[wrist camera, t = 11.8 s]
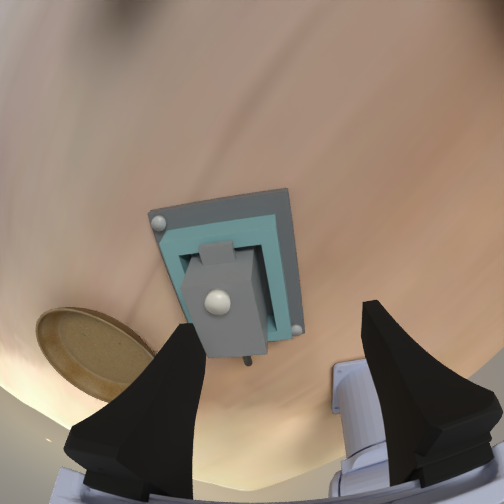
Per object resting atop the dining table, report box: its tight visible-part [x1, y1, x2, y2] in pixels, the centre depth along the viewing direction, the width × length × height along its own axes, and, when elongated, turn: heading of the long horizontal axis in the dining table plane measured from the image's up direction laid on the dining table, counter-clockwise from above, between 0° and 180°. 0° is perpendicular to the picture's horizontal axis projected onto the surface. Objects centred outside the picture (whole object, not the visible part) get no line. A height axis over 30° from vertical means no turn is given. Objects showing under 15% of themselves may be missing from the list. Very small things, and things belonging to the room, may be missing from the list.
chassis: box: [148, 188, 305, 341], centre depth 22 cm, size 12×9×2 cm
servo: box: [180, 240, 268, 366], centre depth 21 cm, size 11×4×5 cm, turn 10°
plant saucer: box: [36, 307, 155, 403], centre depth 27 cm, size 15×15×3 cm
